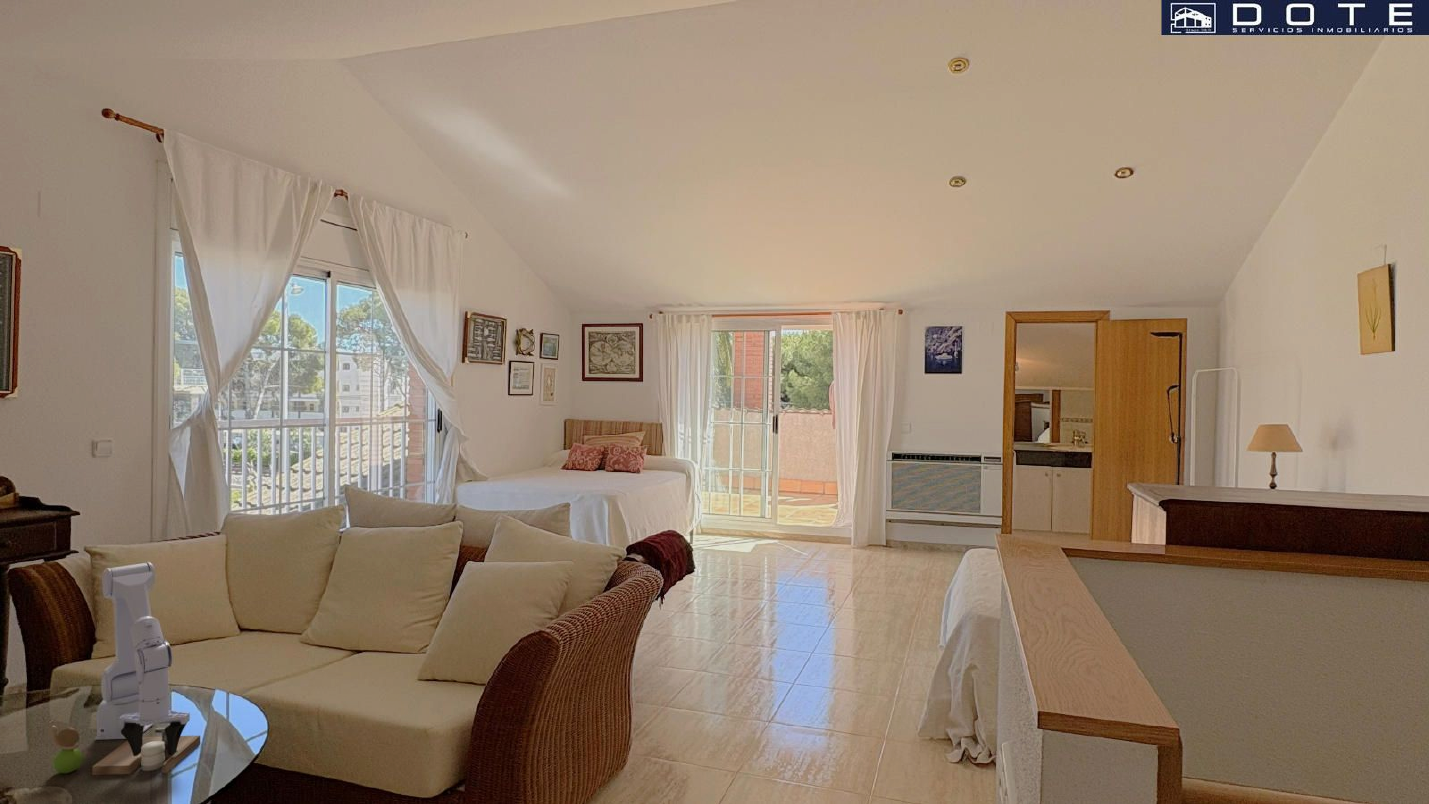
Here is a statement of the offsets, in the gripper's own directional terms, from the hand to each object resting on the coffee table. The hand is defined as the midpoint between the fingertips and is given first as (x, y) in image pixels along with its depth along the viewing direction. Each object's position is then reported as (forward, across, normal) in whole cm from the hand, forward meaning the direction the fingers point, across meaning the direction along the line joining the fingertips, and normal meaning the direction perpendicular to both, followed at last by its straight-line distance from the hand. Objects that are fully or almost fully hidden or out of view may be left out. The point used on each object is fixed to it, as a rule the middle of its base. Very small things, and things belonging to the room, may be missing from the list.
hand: (155, 753), depth 185 cm
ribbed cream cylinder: (+3, 0, 0) cm, 3 cm away
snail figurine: (+3, -18, -2) cm, 19 cm away
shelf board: (+3, -4, +4) cm, 6 cm away
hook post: (+1, 0, +4) cm, 5 cm away
